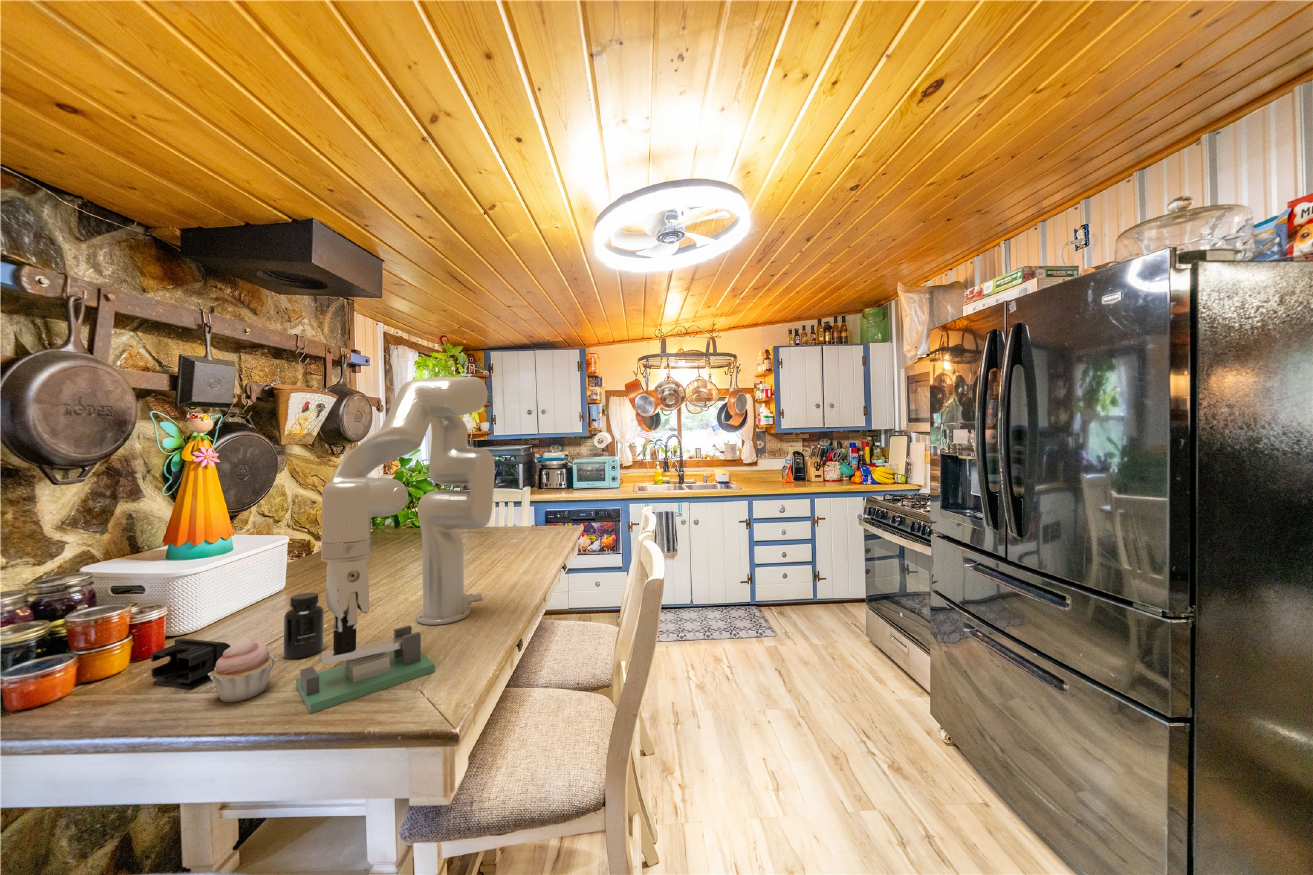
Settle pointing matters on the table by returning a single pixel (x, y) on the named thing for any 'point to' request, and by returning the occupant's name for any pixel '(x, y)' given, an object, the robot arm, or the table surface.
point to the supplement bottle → (303, 626)
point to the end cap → (187, 663)
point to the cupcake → (242, 671)
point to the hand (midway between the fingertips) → (344, 651)
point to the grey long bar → (363, 650)
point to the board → (365, 674)
